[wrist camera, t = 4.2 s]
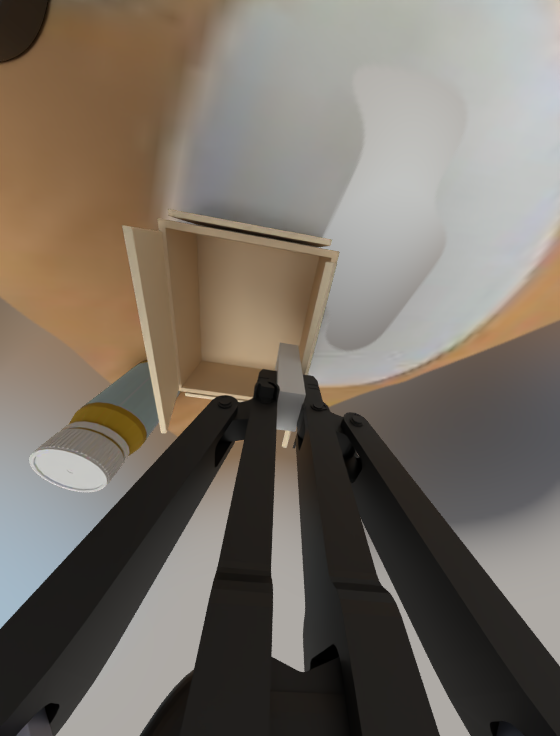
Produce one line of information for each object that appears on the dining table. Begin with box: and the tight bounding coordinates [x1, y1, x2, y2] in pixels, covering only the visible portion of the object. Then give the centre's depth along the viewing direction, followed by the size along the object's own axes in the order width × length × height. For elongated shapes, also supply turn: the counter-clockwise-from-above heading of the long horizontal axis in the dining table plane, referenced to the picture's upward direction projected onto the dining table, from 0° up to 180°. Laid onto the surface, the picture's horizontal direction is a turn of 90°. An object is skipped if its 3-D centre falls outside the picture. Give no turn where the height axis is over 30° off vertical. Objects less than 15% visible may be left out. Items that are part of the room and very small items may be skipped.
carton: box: [157, 209, 339, 402], centre depth 23 cm, size 17×14×7 cm
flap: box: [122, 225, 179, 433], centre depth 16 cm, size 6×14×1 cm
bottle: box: [29, 361, 181, 492], centre depth 24 cm, size 7×7×15 cm
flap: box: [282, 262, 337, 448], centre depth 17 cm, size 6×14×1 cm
